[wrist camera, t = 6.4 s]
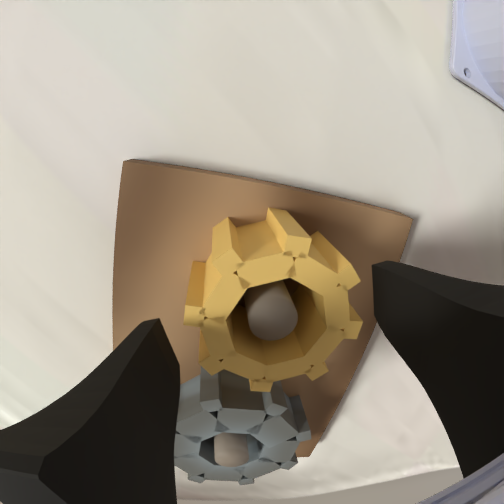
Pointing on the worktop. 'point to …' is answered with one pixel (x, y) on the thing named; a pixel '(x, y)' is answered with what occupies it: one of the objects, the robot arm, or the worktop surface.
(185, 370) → the gear board
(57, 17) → the worktop surface
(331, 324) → the ochre gear
